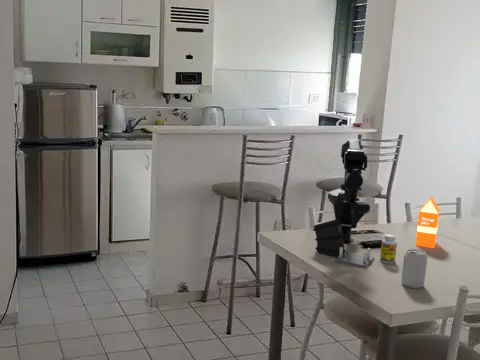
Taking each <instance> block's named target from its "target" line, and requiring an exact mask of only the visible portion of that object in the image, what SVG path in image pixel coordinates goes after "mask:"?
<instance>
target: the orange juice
mask: <svg viewBox="0 0 480 360" xmlns="http://www.w3.org/2000/svg"><path fill="white" fill-rule="evenodd" d="M440 212H441V210H440V208H439V206H438V204H437V203H436V201H435V199H434V197H433V196H431V197H430V198H429V199H428V201H426V202H425V204H424V205H422V207H421V208H420V210H419V213H418V219H417V220H418V221H417V227H416V228H417V229H416V238H415V246H418V247H425V248H432V249H434V248H435V247H436V243H437V235H438V228H439V227H438V226H439V219H440V217H439V216H440Z"/></svg>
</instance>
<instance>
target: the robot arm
mask: <svg viewBox="0 0 480 360" xmlns="http://www.w3.org/2000/svg"><path fill="white" fill-rule="evenodd" d="M346 140H347V141H346V142H345V143H343V144H342V145H341V151H340V158H341V162H342V164H343V169H344V179H343V183H342V184H341V185H340V187H339V188H337V189H333V190H331V191H329V192H328V195H327V199H329V200H328V201H329V202H330V203H331V204H332V208H333V213H334V220H336V219H339V221H341V222H342V223H341V228H342V233H343V234H344V236H345V237H343V241H344V244H350V243H351V242H353V241H354V238H352V229H354V230H355V229H357V226H358V223H359V222H360V220H361V219H362V218H363V217H364V216H365V215H366V214H367V215H368V213H370V211H371V206H370V204H369V203H367V202H363V201H360V198H359V197H358V195H359V192H360V191H362V186H363V184H364V179H363V176H362V175H363V172H362V171H366V169H367V168H368V156H367V153H365V150H364V148H363V147H364V146H363V145H362V144H361V140H360V139H358V138H348V139H346Z"/></svg>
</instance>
